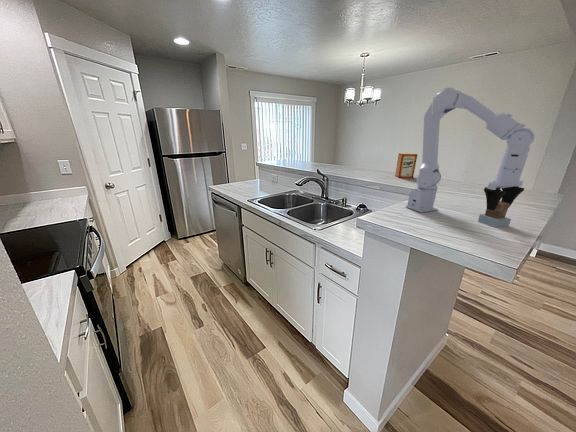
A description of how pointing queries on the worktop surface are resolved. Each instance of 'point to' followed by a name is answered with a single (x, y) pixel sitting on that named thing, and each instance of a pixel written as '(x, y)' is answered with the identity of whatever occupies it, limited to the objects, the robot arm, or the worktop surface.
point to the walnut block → (498, 211)
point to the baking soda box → (406, 165)
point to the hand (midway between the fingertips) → (497, 208)
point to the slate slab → (494, 221)
